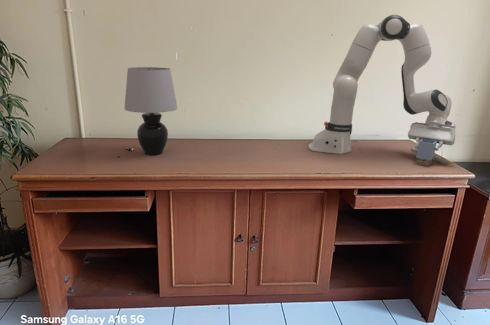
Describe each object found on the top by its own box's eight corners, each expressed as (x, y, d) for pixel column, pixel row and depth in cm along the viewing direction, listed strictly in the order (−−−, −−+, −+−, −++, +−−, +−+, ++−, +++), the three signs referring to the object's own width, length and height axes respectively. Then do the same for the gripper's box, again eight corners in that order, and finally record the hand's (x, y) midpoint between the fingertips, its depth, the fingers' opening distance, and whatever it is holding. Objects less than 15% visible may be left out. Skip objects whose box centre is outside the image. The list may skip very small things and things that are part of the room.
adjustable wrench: (447, 164, 172) (448, 160, 171) (434, 164, 171) (435, 160, 170) (419, 149, 195) (419, 146, 195) (408, 149, 195) (408, 146, 194)
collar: (430, 160, 164) (434, 143, 162) (416, 157, 168) (418, 141, 165) (433, 157, 169) (436, 141, 167) (419, 154, 173) (422, 138, 170)
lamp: (125, 161, 159) (118, 69, 147) (130, 147, 182) (124, 66, 169) (179, 159, 164) (176, 70, 152) (177, 145, 187) (175, 67, 174)
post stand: (428, 166, 165) (431, 154, 163) (415, 164, 169) (417, 151, 167) (431, 163, 170) (433, 151, 168) (417, 161, 173) (420, 149, 171)
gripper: (411, 118, 176) (403, 140, 171) (458, 124, 164) (451, 148, 160) (412, 125, 180) (404, 147, 176) (458, 131, 169) (450, 156, 164)
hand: (426, 148), depth 168 cm, fingers closed on collar, 6 cm apart
